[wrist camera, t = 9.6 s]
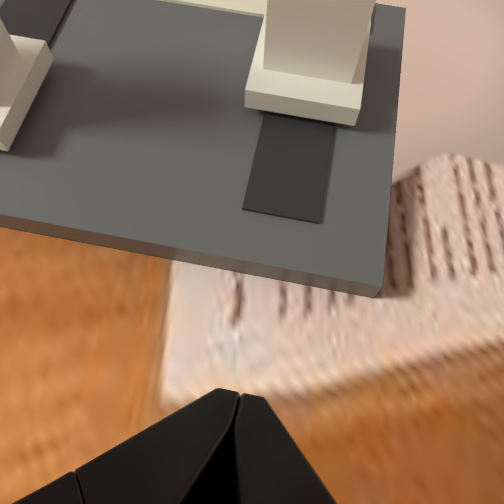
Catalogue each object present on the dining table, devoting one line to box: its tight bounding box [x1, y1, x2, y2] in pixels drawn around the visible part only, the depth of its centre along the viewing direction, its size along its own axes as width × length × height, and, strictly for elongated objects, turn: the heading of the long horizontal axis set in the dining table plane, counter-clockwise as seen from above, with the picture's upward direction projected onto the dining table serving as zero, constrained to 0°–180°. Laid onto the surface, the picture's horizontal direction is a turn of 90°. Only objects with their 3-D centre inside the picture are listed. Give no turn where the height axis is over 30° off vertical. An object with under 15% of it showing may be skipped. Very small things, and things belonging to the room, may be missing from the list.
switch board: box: [0, 0, 406, 298], centre depth 26 cm, size 18×26×2 cm
